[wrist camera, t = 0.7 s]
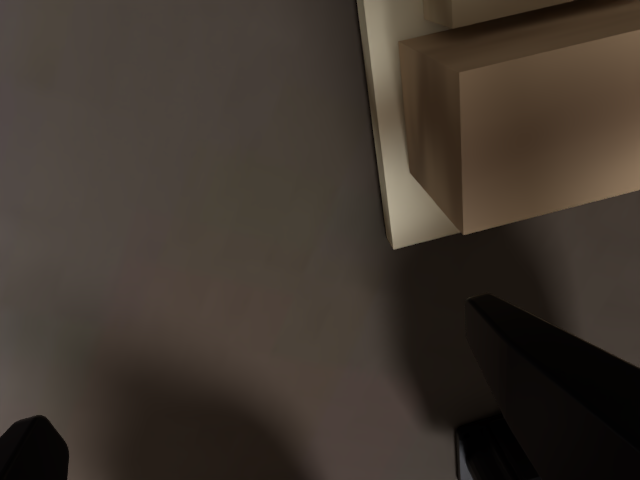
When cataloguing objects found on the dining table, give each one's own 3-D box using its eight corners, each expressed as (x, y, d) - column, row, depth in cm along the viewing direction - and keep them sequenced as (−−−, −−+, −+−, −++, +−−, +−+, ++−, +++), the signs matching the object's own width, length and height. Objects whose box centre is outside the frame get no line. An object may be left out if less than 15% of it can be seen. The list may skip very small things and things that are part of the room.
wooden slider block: (611, 122, 20) (732, 175, 15) (409, 172, 19) (470, 243, 15) (646, -117, 16) (829, -146, 11) (388, -60, 15) (465, -65, 10)
